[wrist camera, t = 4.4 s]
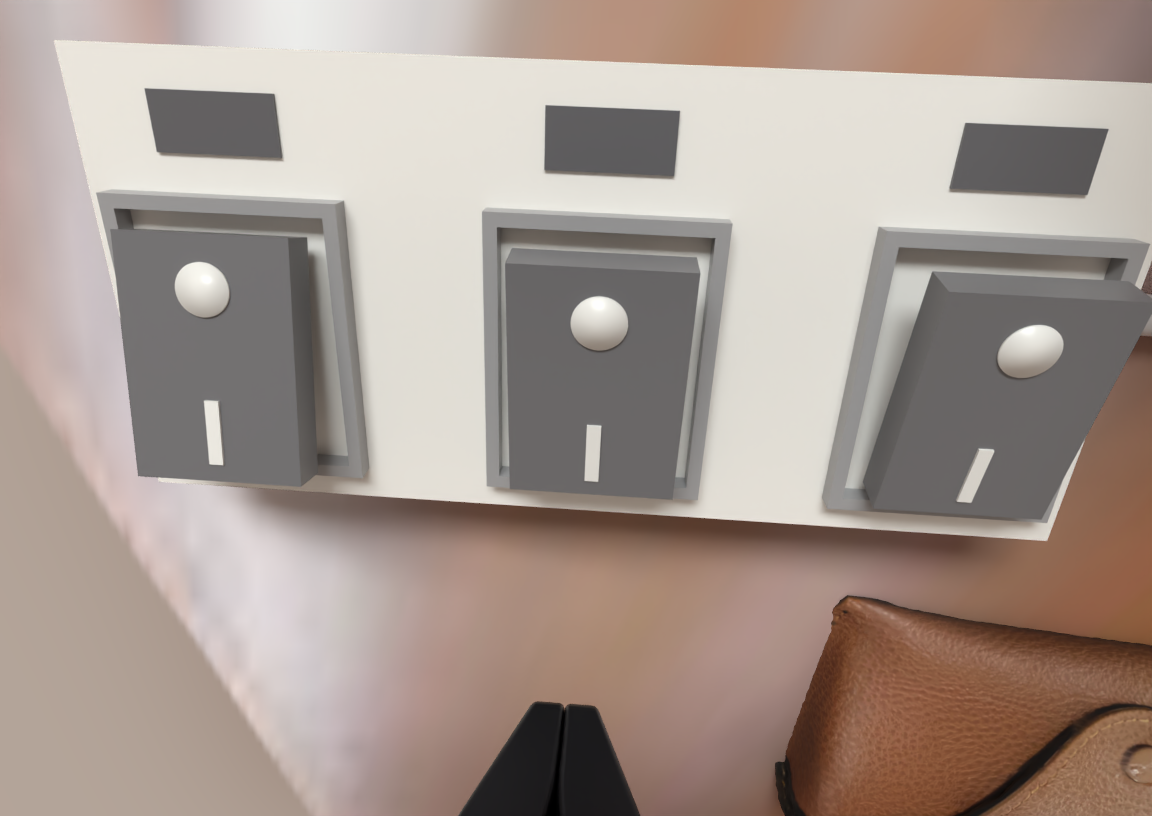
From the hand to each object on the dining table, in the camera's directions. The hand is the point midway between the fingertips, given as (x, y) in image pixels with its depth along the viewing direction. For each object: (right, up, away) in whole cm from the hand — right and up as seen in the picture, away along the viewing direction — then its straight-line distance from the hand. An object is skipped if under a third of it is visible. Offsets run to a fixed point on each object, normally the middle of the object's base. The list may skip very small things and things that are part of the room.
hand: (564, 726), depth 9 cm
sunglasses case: (+16, -6, +15) cm, 23 cm away
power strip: (+4, +7, +9) cm, 12 cm away
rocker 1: (-7, +5, +6) cm, 11 cm away
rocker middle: (+1, +5, +5) cm, 7 cm away
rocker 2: (+9, +4, +5) cm, 11 cm away
